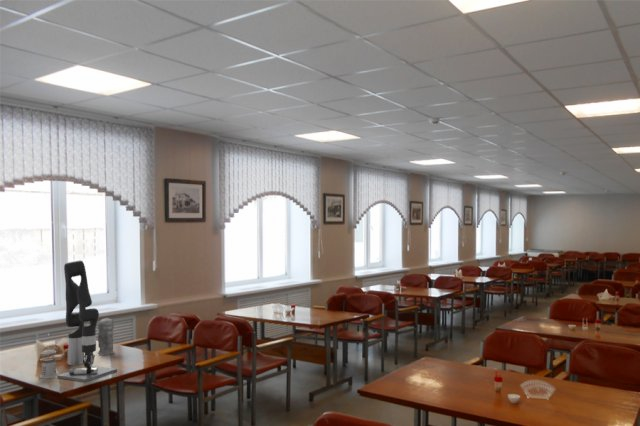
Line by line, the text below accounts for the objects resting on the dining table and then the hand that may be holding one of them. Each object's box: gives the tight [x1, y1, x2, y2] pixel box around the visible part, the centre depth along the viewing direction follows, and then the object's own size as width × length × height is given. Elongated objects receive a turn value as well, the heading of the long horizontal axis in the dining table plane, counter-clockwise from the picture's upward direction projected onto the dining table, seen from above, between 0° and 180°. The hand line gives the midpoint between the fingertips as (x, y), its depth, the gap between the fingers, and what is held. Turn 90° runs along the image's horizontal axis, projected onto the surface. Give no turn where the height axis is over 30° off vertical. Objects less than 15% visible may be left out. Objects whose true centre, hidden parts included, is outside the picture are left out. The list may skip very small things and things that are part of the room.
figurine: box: [97, 317, 115, 356], centre depth 353 cm, size 10×14×25 cm
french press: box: [39, 332, 59, 379], centre depth 301 cm, size 10×12×25 cm
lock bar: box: [68, 367, 98, 374], centre depth 296 cm, size 16×4×2 cm, turn 91°
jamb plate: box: [56, 365, 118, 383], centre depth 300 cm, size 23×23×4 cm
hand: (88, 373), depth 293 cm, fingers closed
